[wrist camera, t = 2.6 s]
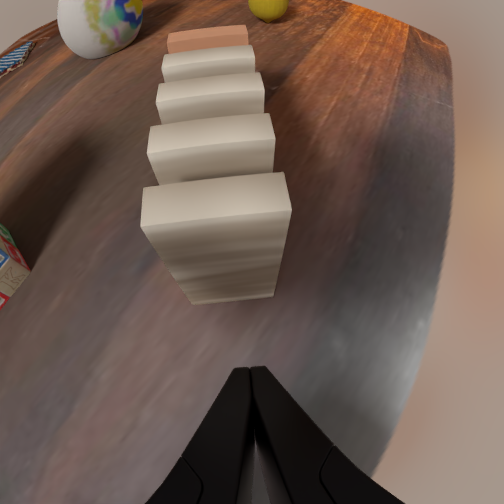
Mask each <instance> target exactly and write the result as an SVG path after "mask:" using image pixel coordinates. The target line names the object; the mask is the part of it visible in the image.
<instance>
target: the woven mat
mask: <svg viewBox="0 0 504 504" xmlns="http://www.w3.org/2000/svg"><path fill="white" fill-rule="evenodd" d="M28 43H29V44H28ZM28 43H27V44H26V45H22V46H21V47H20V48H18V49H15V51H13V52H10V53H9V54H8V55H5V56H4V57H3V58H1V59H0V77H2V76H4V75H5V74H7V73H9V72H11V71H12V70H14V69H16V68H17V67H19V66H21V65H23V62H24V60H26V57H27V56H28V53H29V51H31V50H32V48H33V46H35V43H32V41H31V42H28ZM30 44H31V45H30ZM31 47H32V48H31Z"/></svg>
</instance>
